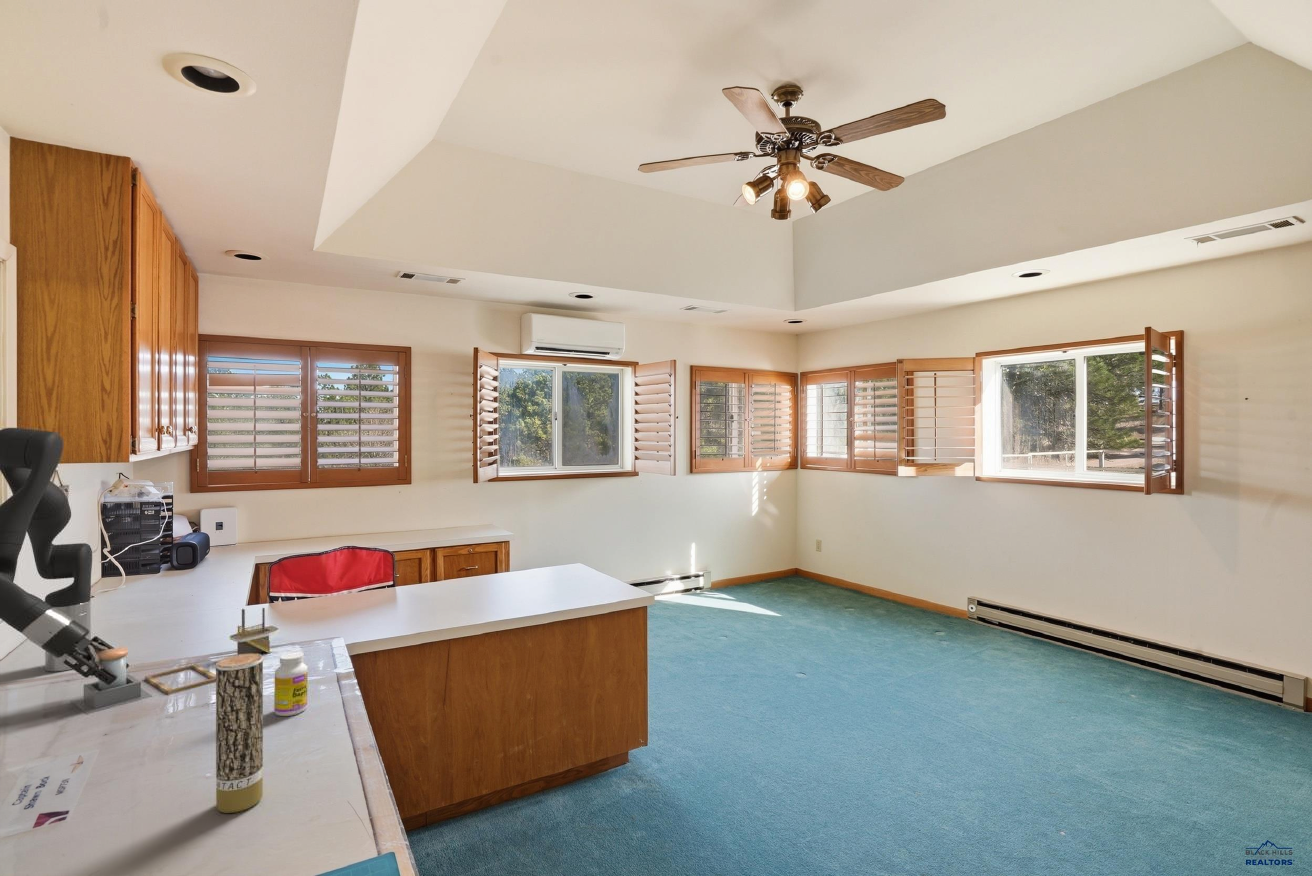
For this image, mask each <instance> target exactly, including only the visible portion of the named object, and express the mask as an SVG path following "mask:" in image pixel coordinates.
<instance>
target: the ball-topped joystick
mask: <svg viewBox="0 0 1312 876" xmlns="http://www.w3.org/2000/svg"><path fill="white" fill-rule="evenodd" d="M128 653H129V649H128V648H127V647H114V649H108V650H104V651H101V652H99V653H97V655H98V657H99V658H100V660H99V662H100V664H101V665H102V666H103V668H106V669H107V670H109V671H110V672H112V673H113V674H115V675H116V676H117V679H116V680H115V681H114V682H113V683H111V684H110V685H107V684H106V683H104V682H102V681H101V680H99V679H98V678H97V682H98V691H103V690H107V689H110V688H114V687H118V686H122V685H126V675H127V669H126V663H127V655H128ZM103 668H102V669H103Z"/></svg>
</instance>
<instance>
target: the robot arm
mask: <svg viewBox="0 0 1312 876" xmlns="http://www.w3.org/2000/svg"><path fill="white" fill-rule="evenodd" d="M63 452H64V441H63V437H62V436H61V435H60V434H59V433H57V432H55V431H50V430H49V431H48V430H43V429H42V430H41V429H40V430H39V429H33V428H32V429H31V428H23V427H5V428H1V429H0V472H1V474H2V476H3V477H4V479H5V481H6V482H7V485H8V487H9V489H10V491H11V494H12V495H11V496H9V498H8V499H6V500H5V501H4V502H2V503H1V504H0V619H1V621H3V622H4V623H5V624H6V625H8V626H10V627H11V628H13V629H15V630H16V631H17V632H19V633H21V634H22V635H23V636H24V637H26V639H28V641H30V642H31V643H33V644H35V645H36V646H37V647H39V648H41V649H42V650H43V651H44V670H45V671H47V672H62V671H68V670H73V671H75V672H76V673H77V674H79V675H81V676H82V677H84V678H86V679H87V678H89V677H92V678H93V677H95V678H96V679H97V680H98V679H99V680H101V681H102V682H104V683H106V684H107V685H110V684H111V683H113V682H114V681H115V680H116V679H117V676H116V675H115V674H113V673H112V672H110V671H109V670H107V669H106V668H103V666H102V665H101V664H100V662H99V660H100V658H99V657H98V655H97V653H99V652H101V651H104V650H108V649H114V648H115V647H113V646H112V645H110V644H109V643H108V642H107V641H105V640H104V639H102V638H100V637H98V636H96V635H95V636H93V637H91V636H92V634H91V633H92V628H91V627H92V619H91V618H92V615H91V612H92V611H91V608H92V607H91V598H92V597H91V593H92V592H91V590H92V568H93V550H92V547H91V546H90V544H89V543H85V542H84V543H83V542H82V543H66V544H63V543H62V544H54V543H53V542H54V540H55V538H57V536H59V534H60V533H61V532H62V531H63V530H64V529H65V528H66V526H67V525H68V524H69V522H70V520H71V518H72V509H71V506H70V504H69V500H68V496H67V495H66V494H65V492H64V490H62V489H61V488H60V487H59V486H58V485H57V484H56V483H54V482H53V481H51V479H52V478H53V475H54V474H55V472H56V470H57V467H58V465H59V463H60V461H61V458H62V455H63ZM26 535H28V538H29V541H30V545H31V548H32V554H33V558H34V563H35V567H36V570H37V573H38V575H39V576H40V578H42V579H43V580H62V579H72V578H73V582H72V583H71V584H70V585H68V586H66V587H64V588H60V589H57V590H55V591H52V592H50V593H48V594H46V595H45V597H44V600H43V599H42V598H40V597H38V596H37V595H34V594H32V593H29V592H28V591H26V590H25V589H23V588H22V587H20V586H19V585H17V584H16V583H15V582H14V580H15V578H16V577H15V576H16V572H17V566H18V559H19V555H20V553H21V551H22V547H23V545H24V542H25V538H26ZM129 667H130V664H129V663H127V662H126V670H127V669H128V668H129ZM102 668H103V669H102Z"/></svg>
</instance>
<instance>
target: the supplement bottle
mask: <svg viewBox="0 0 1312 876" xmlns="http://www.w3.org/2000/svg"><path fill="white" fill-rule="evenodd" d="M303 660H304V654H303V652H299V651H298V652H297V651H296V652H295V651H294V652H286V653H284V654H281V655H280V657H279V664H280V666H279V667H277V668H276V670H274V695H273V696H274V707H273V708H274V709H273V710H274V711H273V712H274V714H275V715H277V716H278V717H289V716H290V717H291V716H295V715H298V714H301V713H303V711H305V710H306V709H307V707H308V680H309V679H308V677H309V675H308V674H309V673H308V672H309V671H308V670H309V669H308V666H307V665H306V664H305V663H303Z"/></svg>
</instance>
